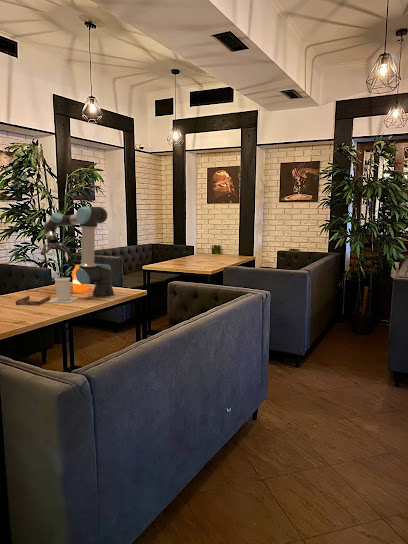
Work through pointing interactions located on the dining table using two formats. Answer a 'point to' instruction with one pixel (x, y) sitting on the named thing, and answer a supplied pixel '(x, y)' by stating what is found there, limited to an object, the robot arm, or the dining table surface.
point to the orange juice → (76, 284)
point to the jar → (62, 288)
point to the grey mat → (64, 301)
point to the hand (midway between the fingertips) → (57, 260)
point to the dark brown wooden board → (25, 302)
